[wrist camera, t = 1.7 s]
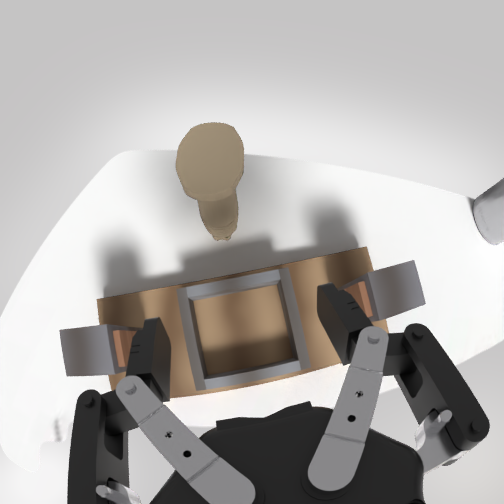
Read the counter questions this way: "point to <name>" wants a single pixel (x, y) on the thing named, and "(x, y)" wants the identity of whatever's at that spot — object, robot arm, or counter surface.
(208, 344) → the brown and grey holder
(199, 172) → the handle
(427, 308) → the counter surface
